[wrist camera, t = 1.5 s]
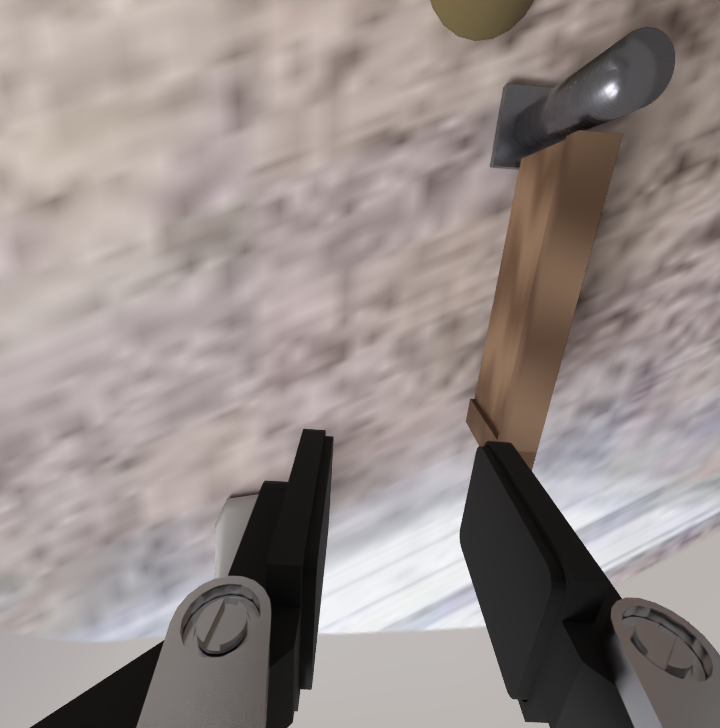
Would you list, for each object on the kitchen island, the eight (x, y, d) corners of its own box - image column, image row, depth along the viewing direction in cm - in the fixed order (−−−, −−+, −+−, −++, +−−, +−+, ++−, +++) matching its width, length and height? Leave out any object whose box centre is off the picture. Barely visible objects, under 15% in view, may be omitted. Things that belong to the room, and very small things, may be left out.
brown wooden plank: (516, 158, 21) (579, 130, 15) (547, 160, 21) (622, 133, 15) (465, 421, 27) (497, 478, 21) (490, 423, 27) (529, 480, 21)
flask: (217, 485, 30) (152, 603, 21) (307, 496, 30) (284, 616, 21) (216, 554, 33) (158, 687, 23) (299, 563, 33) (275, 697, 24)
